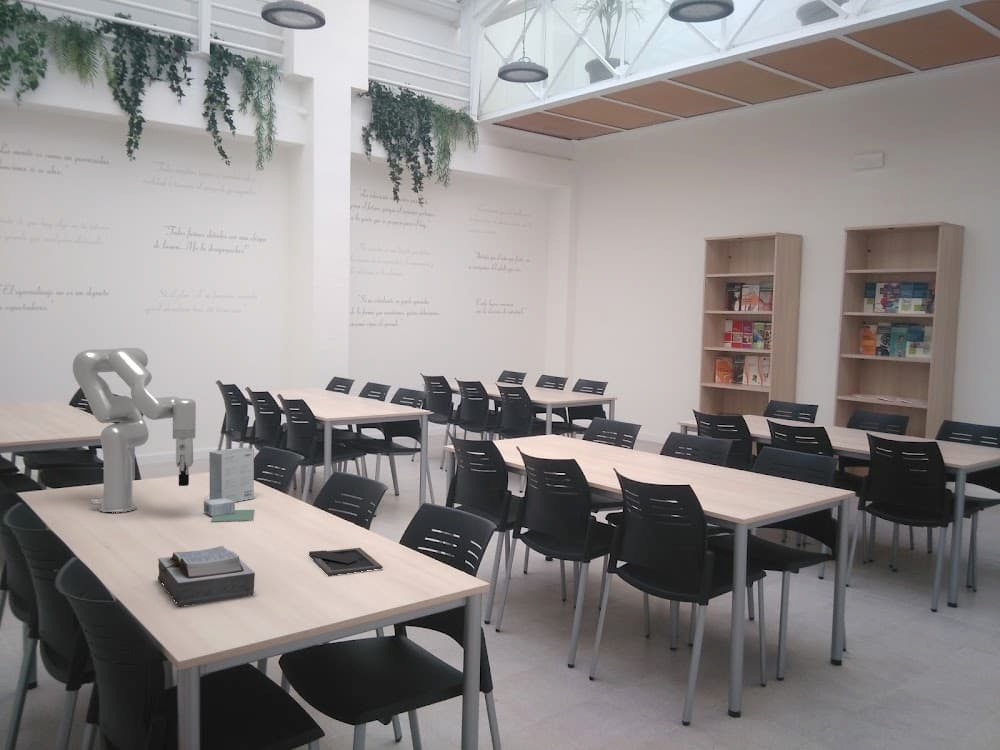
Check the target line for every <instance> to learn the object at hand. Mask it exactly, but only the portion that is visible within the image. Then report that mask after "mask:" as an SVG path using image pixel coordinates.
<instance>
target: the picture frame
mask: <svg viewBox="0 0 1000 750" xmlns="http://www.w3.org/2000/svg"><path fill="white" fill-rule="evenodd" d="M309 556H310V557H311V558H312V559H313V560H312V559H311V558H310V557H309ZM308 557H309V558H310V559H311V560H312V562H314V563H315V565H316V566H317V567H318V568H319V569H320V568H321V569H322V570H323V571H324V572H325V573H326V574H327V575H328V576H327V575H326V574H325V573H324V574H325V575H326V576H327V577H333V576H332V575H336V576H339V575H338V574H345V575H348V574H347V573H353V574H355V573H354V572H361V571H367V570H374V569H381V568H384V567H383V565H382V564H380V562H378V561H377V560H375V558H373V557H372V556H371V555H370V554H368V553H367V552H366V551H365V550H363V549H362V548H361V547H355V548H345V549H344V548H343V549H335V550H332V549H331V550H313V551H308ZM321 569H320V570H321ZM322 570H321V571H322ZM323 571H322V572H323ZM361 573H362V572H361Z"/></svg>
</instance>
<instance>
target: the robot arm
mask: <svg viewBox="0 0 1000 750" xmlns="http://www.w3.org/2000/svg"><path fill="white" fill-rule="evenodd" d="M148 358H149V357H148V355H147V354H146V352H145V351H144V350H143V349H141V348H139V347H118V348H113V349H112V348H110V349H109V348H107V349H105V348H104V349H103V348H101V349H100V348H99V349H87V350H84V351H80V352H78V354H76V356H75V357H74V359H73V362H72V373H73V377H74V379H75V381H76V382H77V385H79V387H80V388H81V391H82V392H83V394H84V396H85V399H86V401H87V403H88V405H89V408H90V410H91V412H92V414H93V416H94V418H95V420H96V421H98V422H99V423H102V424H109V425H107V426H105V427H104V429H102V431H101V433H100V444H101V448H102V454H103V497H100V498H91V499H90V505H93V506H97V505H99V507H98V511H99V512H100V511H102V512H101V513H104V512H112V513H111V514H120V513H119V512H122V513H128V512H127V511H129V512H131V511H132V510H133V511H135V510H137V508H138V505H137V504H136V503H133V459H132V456H131V453H130V451H129V449H131V448H135V447H141V446H143V445H145V443H147V441H148V439H149V428H148V427H147V424H146V422H145V421H146V420H145V419H144V417H146V418H147V419H150V420H152V421H157V420H164V419H172V440H173V439H174V440H175V465H176V467H177V468H178V486H179V487H188V486H190V485H189V484H190V474H189V470H190V469H189V468H191V467H192V466H193V464H194V439H196V432H197V431H196V430H197V429H196V428H197V426H196V425H197V424H196V423H197V422H196V421H197V420H196V417H197V415H196V412H197V410H196V408H197V406H196V405H197V404H196V401H195V400H194V399H192V398H181V397H177V396H167V397H165V396H163V397H154V396H153V395H152V394H151V393H150V392H149V390H148V389H147V388H146V387H147V386H148V385H149V384H150V383H151V382H152V379H153V375H152V373H151V372H150V370H148V369H147V368H146V367H147V366H148V363H149V359H148ZM113 372H115V373H116V374H117V375H118V377H119V378H121V379H122V380H123V382H124V383H125V384H126V385H127V386H128V387H129V389H130V396H131V397H130V396H127V395H114V394H113V392H112V390H111V388H110V386H109V384H108V383H107V381H106V380H105V379H104V378H103V377H101V376H100V375H99V374H98V373H113ZM142 414H143V415H144V417H143V415H142ZM116 422H117V423H116ZM110 423H113V424H110ZM113 512H114V513H113ZM115 512H116V513H115Z"/></svg>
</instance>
